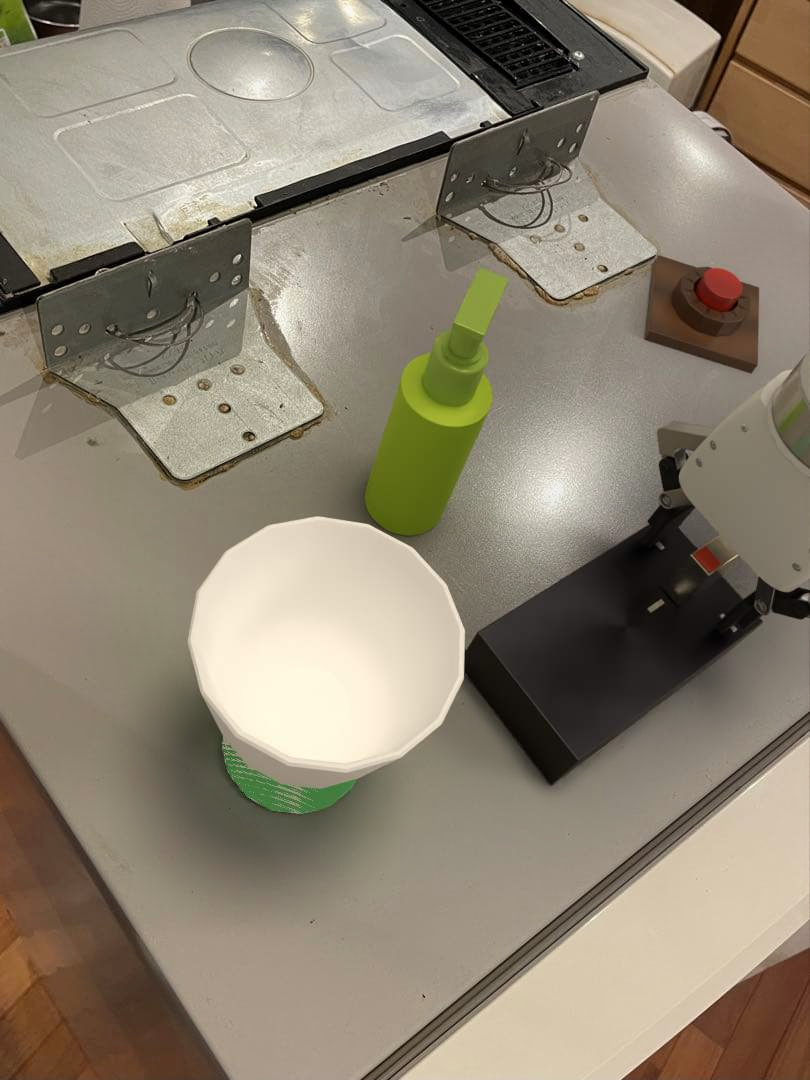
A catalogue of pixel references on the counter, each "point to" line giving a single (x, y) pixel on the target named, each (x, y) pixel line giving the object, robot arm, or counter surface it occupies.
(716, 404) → the counter surface
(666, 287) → the block
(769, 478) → the robot arm
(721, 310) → the button
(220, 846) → the counter surface
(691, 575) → the red-tipped black block
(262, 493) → the counter surface
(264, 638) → the cup
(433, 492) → the soap dispenser
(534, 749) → the black switch box
